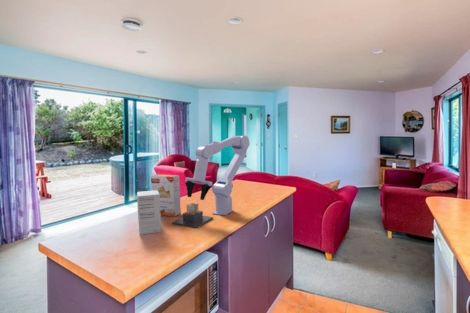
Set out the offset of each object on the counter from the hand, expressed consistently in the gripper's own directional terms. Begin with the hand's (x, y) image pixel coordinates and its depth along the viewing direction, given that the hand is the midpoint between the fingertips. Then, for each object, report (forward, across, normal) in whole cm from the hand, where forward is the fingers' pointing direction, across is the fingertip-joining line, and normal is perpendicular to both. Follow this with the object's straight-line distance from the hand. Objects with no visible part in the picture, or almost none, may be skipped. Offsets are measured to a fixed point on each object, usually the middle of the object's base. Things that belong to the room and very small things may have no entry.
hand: (195, 198), depth 128 cm
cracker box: (+12, -19, +5) cm, 23 cm away
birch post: (+10, 0, 0) cm, 10 cm away
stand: (+11, +1, +1) cm, 11 cm away
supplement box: (+16, -10, -16) cm, 25 cm away
